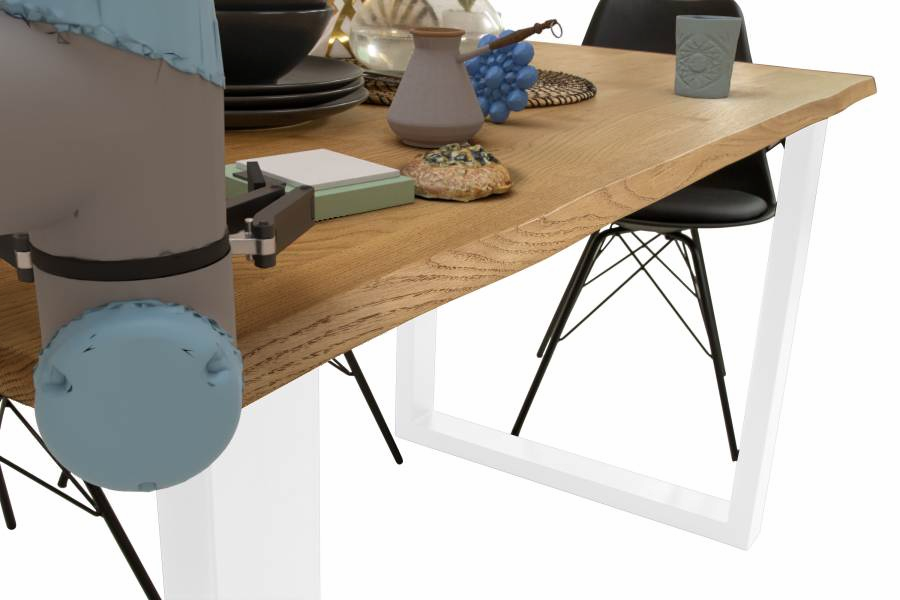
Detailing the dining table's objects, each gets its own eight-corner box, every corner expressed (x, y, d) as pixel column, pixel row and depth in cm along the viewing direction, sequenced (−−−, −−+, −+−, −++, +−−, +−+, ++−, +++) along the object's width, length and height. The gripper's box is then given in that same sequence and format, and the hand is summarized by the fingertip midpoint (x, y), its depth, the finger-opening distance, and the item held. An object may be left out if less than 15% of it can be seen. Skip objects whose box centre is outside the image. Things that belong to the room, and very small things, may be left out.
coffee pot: (366, 143, 117) (366, 9, 112) (422, 129, 126) (424, 5, 121) (527, 168, 106) (534, 22, 101) (575, 151, 115) (585, 16, 110)
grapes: (552, 124, 132) (558, 30, 128) (523, 131, 127) (528, 33, 123) (481, 113, 139) (484, 23, 135) (451, 119, 134) (453, 26, 129)
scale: (295, 226, 84) (294, 193, 83) (204, 190, 94) (203, 161, 93) (414, 202, 92) (415, 172, 91) (319, 172, 102) (318, 145, 101)
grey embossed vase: (690, 99, 155) (698, 19, 151) (656, 90, 164) (663, 14, 160) (746, 98, 158) (755, 19, 154) (710, 88, 167) (718, 14, 163)
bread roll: (441, 167, 104) (446, 120, 102) (532, 199, 99) (539, 150, 97) (373, 191, 96) (377, 141, 94) (468, 227, 91) (476, 174, 88)
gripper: (-117, 372, 48) (-37, 245, 67) (392, 333, 54) (333, 227, 74) (-145, 221, 46) (-53, 134, 65) (393, 198, 52) (331, 125, 71)
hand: (152, 183), depth 69 cm, fingers open, 13 cm apart
